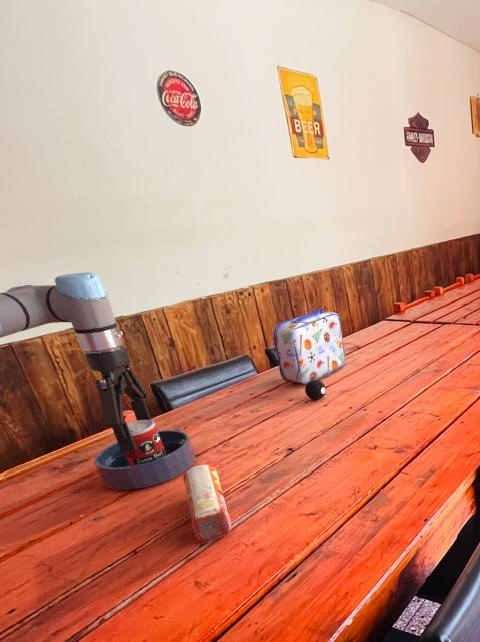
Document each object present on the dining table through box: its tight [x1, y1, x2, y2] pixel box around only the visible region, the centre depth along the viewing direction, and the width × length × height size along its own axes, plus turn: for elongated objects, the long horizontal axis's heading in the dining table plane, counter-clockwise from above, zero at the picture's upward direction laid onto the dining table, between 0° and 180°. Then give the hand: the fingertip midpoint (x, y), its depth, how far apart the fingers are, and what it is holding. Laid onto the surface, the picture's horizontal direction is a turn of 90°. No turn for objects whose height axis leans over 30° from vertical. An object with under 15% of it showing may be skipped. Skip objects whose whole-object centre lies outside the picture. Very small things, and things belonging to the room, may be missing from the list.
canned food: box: [125, 419, 166, 466], centre depth 120 cm, size 8×8×11 cm
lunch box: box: [272, 308, 346, 385], centre depth 174 cm, size 28×10×22 cm, turn 159°
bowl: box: [94, 429, 197, 491], centre depth 121 cm, size 19×19×6 cm
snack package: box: [182, 464, 232, 543], centre depth 102 cm, size 21×7×7 cm, turn 31°
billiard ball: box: [304, 379, 327, 400], centre depth 157 cm, size 6×6×6 cm
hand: (138, 437), depth 118 cm, fingers open, 13 cm apart
